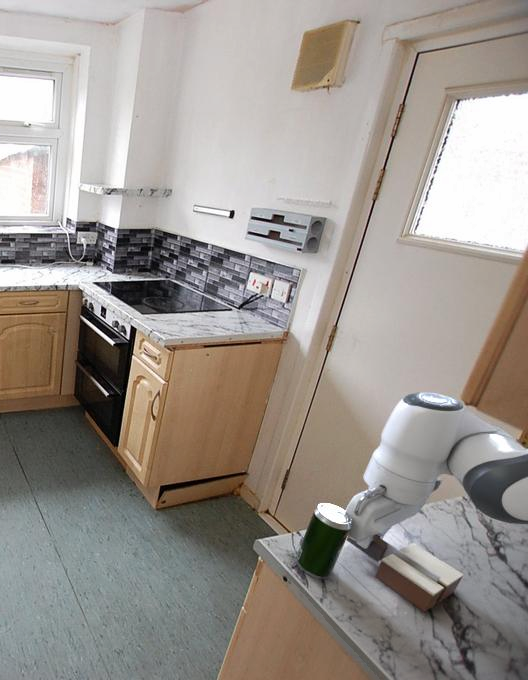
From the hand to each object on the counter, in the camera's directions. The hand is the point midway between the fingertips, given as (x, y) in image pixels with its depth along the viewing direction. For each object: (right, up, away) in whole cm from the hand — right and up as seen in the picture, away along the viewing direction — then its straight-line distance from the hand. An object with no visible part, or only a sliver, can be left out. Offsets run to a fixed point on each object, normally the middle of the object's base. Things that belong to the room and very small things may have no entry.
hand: (368, 542), depth 84 cm
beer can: (-12, -3, -3) cm, 13 cm away
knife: (+1, -3, -2) cm, 4 cm away
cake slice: (+1, -5, -6) cm, 8 cm away
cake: (+6, -5, -4) cm, 9 cm away
